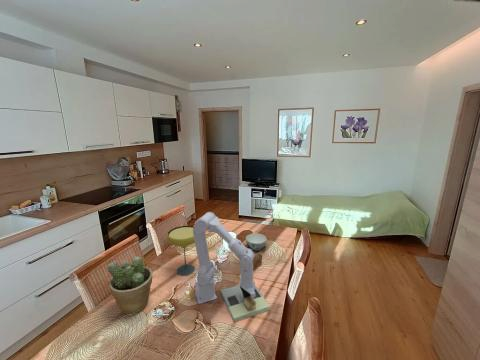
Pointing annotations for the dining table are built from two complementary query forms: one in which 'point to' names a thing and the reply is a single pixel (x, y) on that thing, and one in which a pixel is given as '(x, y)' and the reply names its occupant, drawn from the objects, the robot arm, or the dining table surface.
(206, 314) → the dining table surface
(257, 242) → the chinaware
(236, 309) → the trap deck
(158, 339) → the dining table surface
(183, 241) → the cocktail glass
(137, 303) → the potted plant
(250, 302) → the beech block
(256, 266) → the brown flat slab
